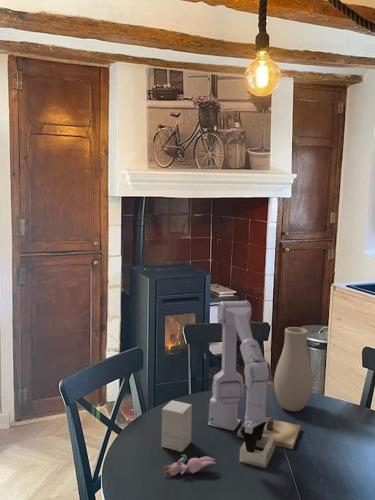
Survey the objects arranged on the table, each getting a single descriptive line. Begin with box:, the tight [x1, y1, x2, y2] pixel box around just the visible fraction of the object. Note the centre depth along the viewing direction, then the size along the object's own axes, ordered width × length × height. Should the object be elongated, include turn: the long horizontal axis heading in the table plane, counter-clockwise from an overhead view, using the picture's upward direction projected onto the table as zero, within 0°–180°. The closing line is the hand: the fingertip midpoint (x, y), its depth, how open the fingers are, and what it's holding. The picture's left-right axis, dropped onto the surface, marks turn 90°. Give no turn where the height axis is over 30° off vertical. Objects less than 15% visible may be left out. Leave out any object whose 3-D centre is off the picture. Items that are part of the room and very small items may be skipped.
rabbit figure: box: [163, 454, 217, 477], centre depth 145 cm, size 6×6×15 cm
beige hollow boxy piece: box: [238, 434, 276, 469], centre depth 155 cm, size 8×12×4 cm, turn 157°
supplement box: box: [161, 400, 193, 453], centre depth 160 cm, size 7×7×13 cm
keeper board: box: [236, 416, 302, 450], centre depth 169 cm, size 18×14×6 cm
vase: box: [273, 326, 314, 412], centre depth 186 cm, size 14×14×30 cm
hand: (254, 445), depth 150 cm, fingers open, 7 cm apart
